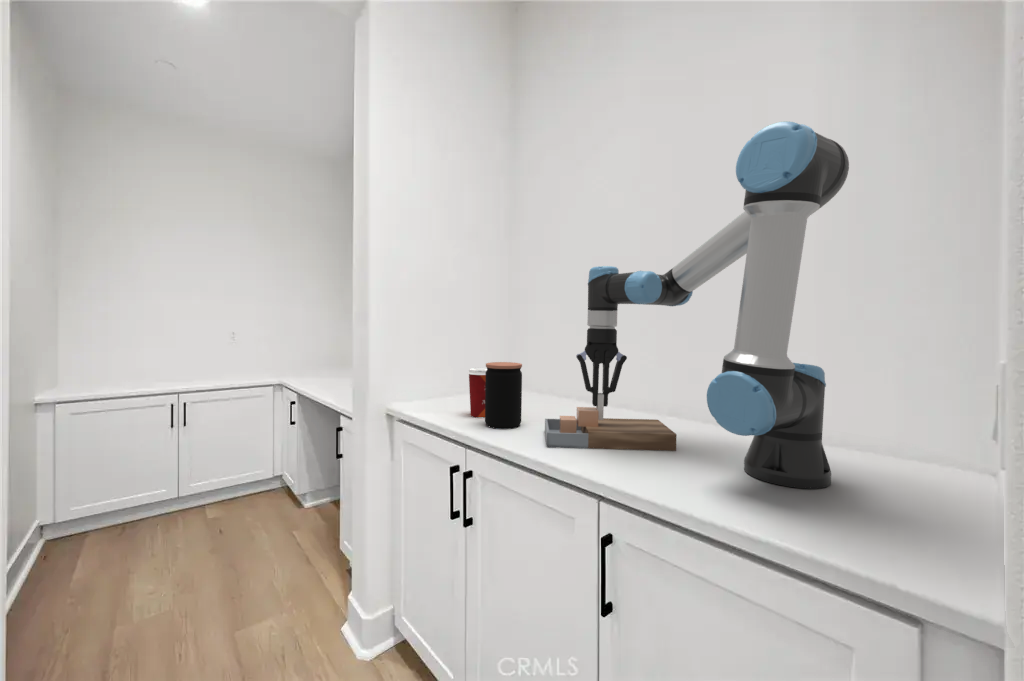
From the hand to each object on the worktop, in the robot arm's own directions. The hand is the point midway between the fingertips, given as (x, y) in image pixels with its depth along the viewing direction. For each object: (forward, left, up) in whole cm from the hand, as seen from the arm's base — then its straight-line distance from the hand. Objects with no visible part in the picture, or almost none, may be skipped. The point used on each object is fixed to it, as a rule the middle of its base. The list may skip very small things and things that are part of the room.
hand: (599, 418), depth 118 cm
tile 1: (0, +6, -3) cm, 7 cm away
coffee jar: (+14, +26, -6) cm, 30 cm away
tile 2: (0, +3, -2) cm, 4 cm away
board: (0, -7, -6) cm, 9 cm away
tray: (0, +9, -6) cm, 10 cm away
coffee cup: (+26, +34, -6) cm, 43 cm away
